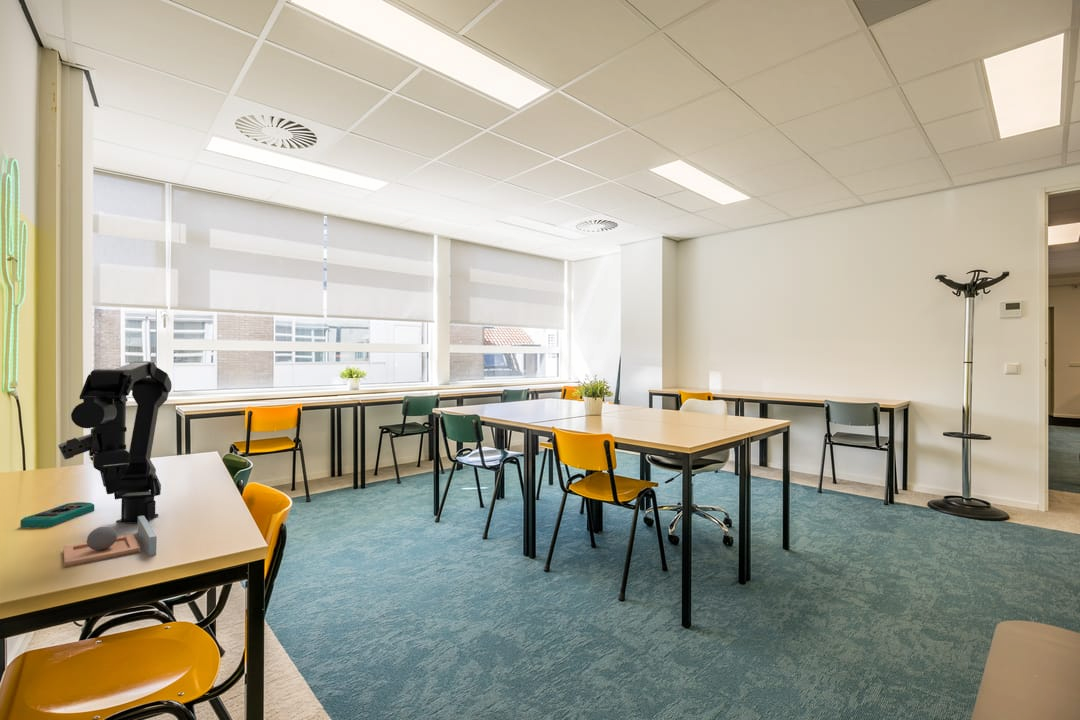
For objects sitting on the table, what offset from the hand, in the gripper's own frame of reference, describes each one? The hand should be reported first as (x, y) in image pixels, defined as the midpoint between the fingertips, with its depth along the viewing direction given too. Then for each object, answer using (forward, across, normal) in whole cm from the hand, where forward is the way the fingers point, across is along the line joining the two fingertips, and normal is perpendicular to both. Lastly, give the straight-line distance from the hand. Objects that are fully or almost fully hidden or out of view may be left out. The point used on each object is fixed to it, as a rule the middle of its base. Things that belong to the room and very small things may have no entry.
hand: (108, 490), depth 116 cm
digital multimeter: (+13, -30, -8) cm, 34 cm away
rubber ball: (+9, +7, -1) cm, 12 cm away
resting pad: (+12, +7, -1) cm, 14 cm away
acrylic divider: (+12, +7, +6) cm, 15 cm away
